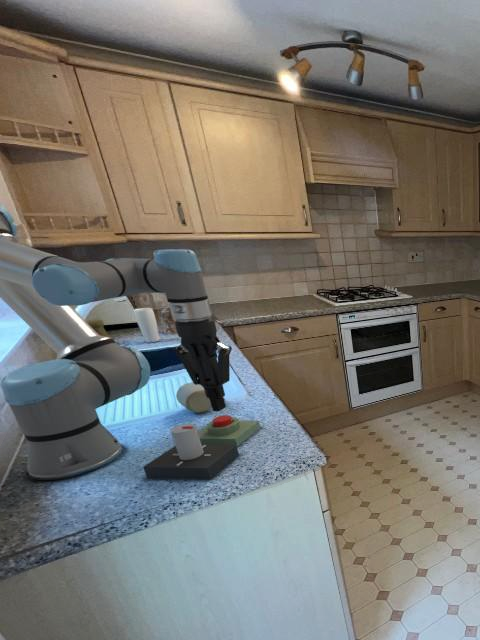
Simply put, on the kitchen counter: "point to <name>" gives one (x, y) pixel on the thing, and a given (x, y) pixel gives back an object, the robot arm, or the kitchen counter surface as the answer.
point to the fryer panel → (192, 463)
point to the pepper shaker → (98, 326)
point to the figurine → (168, 322)
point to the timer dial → (187, 441)
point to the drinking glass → (147, 324)
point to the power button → (222, 421)
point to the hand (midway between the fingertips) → (219, 409)
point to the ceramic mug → (193, 398)
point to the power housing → (228, 432)
